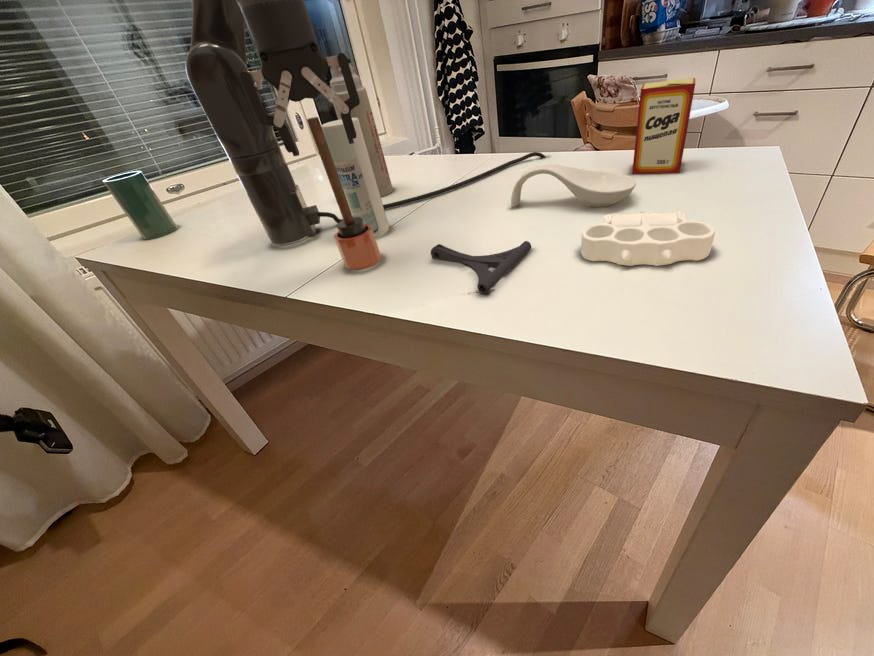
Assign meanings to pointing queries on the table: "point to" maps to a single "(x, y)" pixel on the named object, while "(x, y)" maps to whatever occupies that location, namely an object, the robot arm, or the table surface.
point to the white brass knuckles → (647, 239)
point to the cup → (141, 204)
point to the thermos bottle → (364, 127)
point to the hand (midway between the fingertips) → (324, 148)
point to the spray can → (356, 174)
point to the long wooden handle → (336, 184)
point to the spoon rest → (582, 184)
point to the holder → (359, 249)
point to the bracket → (484, 263)
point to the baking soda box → (662, 126)
